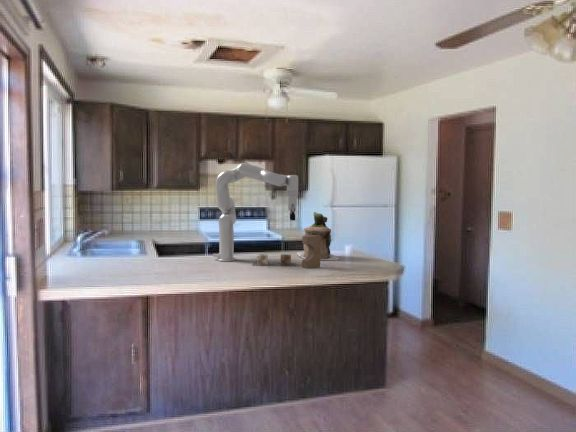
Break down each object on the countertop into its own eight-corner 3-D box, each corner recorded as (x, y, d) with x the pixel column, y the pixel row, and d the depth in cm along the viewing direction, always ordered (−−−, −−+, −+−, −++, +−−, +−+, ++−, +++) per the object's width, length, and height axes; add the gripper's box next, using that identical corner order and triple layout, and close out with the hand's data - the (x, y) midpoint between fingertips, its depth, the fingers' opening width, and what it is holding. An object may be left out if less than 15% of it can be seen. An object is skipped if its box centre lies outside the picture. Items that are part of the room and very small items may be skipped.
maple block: (257, 265, 314) (257, 255, 314) (257, 263, 321) (257, 254, 320) (267, 265, 314) (267, 255, 314) (267, 263, 321) (267, 254, 320)
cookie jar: (305, 261, 331) (305, 214, 328) (295, 255, 355) (296, 211, 352) (339, 260, 337) (340, 213, 334) (328, 254, 360) (329, 210, 358)
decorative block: (307, 268, 305) (307, 236, 303) (301, 267, 310) (301, 235, 308) (320, 267, 312) (321, 235, 310) (315, 265, 316) (315, 234, 315)
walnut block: (280, 265, 314) (280, 256, 314) (280, 263, 321) (280, 254, 320) (290, 265, 314) (291, 256, 314) (290, 263, 321) (290, 254, 320)
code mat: (251, 266, 312) (251, 265, 312) (253, 262, 324) (253, 262, 324) (296, 266, 312) (296, 266, 312) (295, 263, 324) (295, 262, 324)
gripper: (286, 193, 333) (286, 218, 335) (287, 194, 316) (287, 220, 317) (297, 193, 333) (297, 218, 335) (298, 194, 316) (298, 220, 318)
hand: (292, 219), depth 326 cm, fingers open, 9 cm apart
